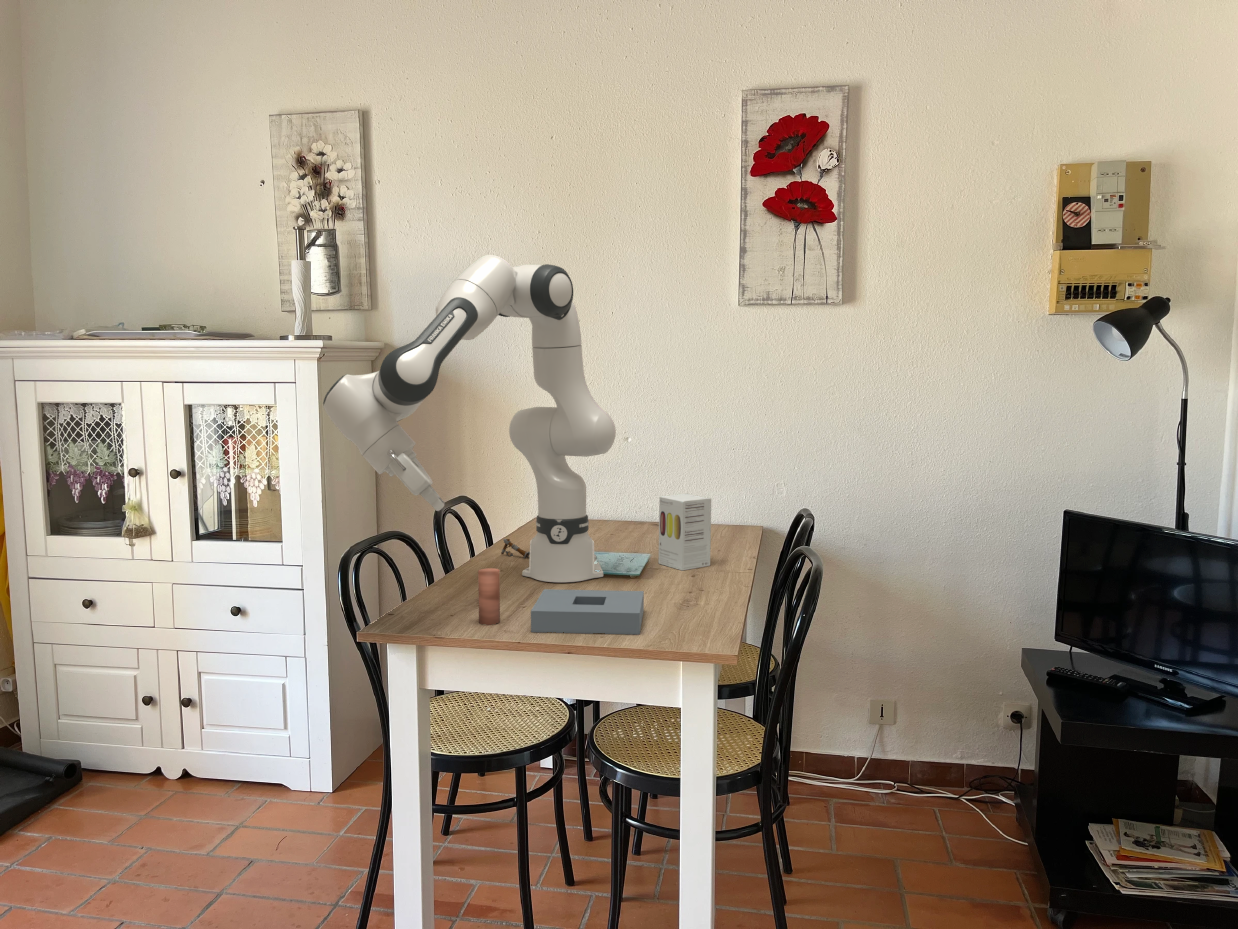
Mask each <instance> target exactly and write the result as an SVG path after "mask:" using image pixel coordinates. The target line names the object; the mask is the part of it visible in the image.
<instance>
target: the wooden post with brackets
mask: <svg viewBox="0 0 1238 929" xmlns="http://www.w3.org/2000/svg"><path fill="white" fill-rule="evenodd" d="M503 543H504V546H503V548H502V549H501V552H500V554H501V555H504V554H506V556H508V557H511V556H513V557H514V553H512V552H511V551H510V550H507V549H508V548H510V549H512V550H514V551H515V552H516V553H519V554H520V555H521V556H522V557H523V559H524V558H525V559H526V557H527V558H530V551H527V550H524V549H521V548H520V547H519V546H518V545H516V544H515V543H512V541H511V539H510V538H503Z"/></svg>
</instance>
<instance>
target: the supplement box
mask: <svg viewBox="0 0 1238 929" xmlns="http://www.w3.org/2000/svg"><path fill="white" fill-rule="evenodd" d="M658 504H659V506H658V508H659V509H658V510H659V511H658V515H659V516H658V519H659V520H658V564H659V565H662V566H666V567H669V568H671V569H676V570H679V571H687V570H693V569H700V568H703V567H710V566H711V542H712V539H711V536H712V534H711V533H712V498H711V497H706V496H705V497H704V496H701V495H695V494H690V493H680V494H679V493H678V494H671V495H662V496H661V495H660V496H659V502H658Z"/></svg>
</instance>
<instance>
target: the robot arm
mask: <svg viewBox="0 0 1238 929" xmlns="http://www.w3.org/2000/svg"><path fill="white" fill-rule="evenodd" d="M573 300H574V285H573V281H572V279H571V276H570V275H569V273H568V272H567V271H566V270H565V269H564V268H562V267H560V266H558V265H555V264H548V263H547V264H546V263H545V264H535V263H531V264H520V265H515V266H512V265H511V264H510V263H509V262H508V261H507V260H506V259H504V258H503V257H501V256H499V255H495V254H486V255H483V256H481V257H479V258H477V259H476V260H475V261H474V262H471V264H470V265H468V266H467V267H466V268H465V269H464V270H463V271H462V272H461V273H460V274H458V276H457V277H456V278H455V279H454V280H453V281H452V283H450V285H449V286H448V287H447V288H446V290H444V293H443V294H442V296H441V297H440V299H439V301H438V303H437V305H436V307H435V317H434V318H433V319H432V320H431V322H430V323H428V325H427V326H426V327H425V328H424V329H423V331H422V332H420V334H419V335H418V336H416V338H415V340H413V341H411V342H409V343H408V344H405V345H403V346H399V347H397V348H395V349H394V350H392V351H390V352H389V353H388V354H387V355H386V356H385V357H384V359H383V360H382V363H381V364H380V367H379V370H378V371H374V372H370V373H365V374H347V373H346V374H344V375H342V376H341V377H339V378H338V379H337V380H335V382H334V383H333V384H332V385H331V387H330V388H329V390H328V391H327V392H326V394H325V396H324V398H323V402H322V408H323V410H324V412H325V414H326V415H327V416H328V417H329V419H330V421H331V422H332V424H334V426H335V427H336V428H337V429H338V431H339V432H341V434H342V435H343V436H344V438H345V439H347V440H348V441H349V442H352V444H354V445H355V446H356V447H357V449H358V452H359V454H360V455H361V456H362V457H363V459H365V461H366V462H367V463H368V464H369V465H370V466H371V467H372V468H373V469H374V470H375V472H376V473H377V474H378V475H381V474H383V473H387V474H388V475H389V477H393V476H396V477H397V478H398V479H399V481H400V482H401V483H402V484H403V485H404V487H406V488H407V489H408V491H409V492H410V493H411V494H412V495H413V496H419V495H420V496H421V498H423V499H424V500H425V501H426V502H427V503H428V504H429V505H430V506H431V507H433V509H434V510H435V511H437V512H440V511H441V510H442V509H443V508H444V507H445V505H446V503H445V501H444V500H443V499H442V498H441V497H440V495H439V493H438V492H437V491H436V490H435V488H433V486H432V485H433V484H434V481H433V480H432V478H431V476H430V475H429V473H428V472H427V471H426V469H425V468H424V466H423V465H422V464H421V462H420V461H419V459H418V458H417V455H418V454H417V453H416V452H415V451H414V446H416V443H417V442H416V441H414V439H413V438H412V437H411V436H410V435H409V434H408V433H407V432H406V431H405V429H404V428H403V427H402V426H401V424H400V423H398V422H400V421H401V420H403V419H407V418H408V417H409V416H411V415H412V414H414V413H415V412H416V410H418V408H419V407H420V406H421V404H422V403H423V402H424V401H425V399H427V397H428V396H430V394H431V393H432V392H433V391H434V390H435V387H436V385H437V383H438V380H439V379H438V378H439V373H440V369H441V366H442V363H443V362H444V361H445V359H446V358H448V356H449V355H450V354H451V352H452V351H453V350H454V349H455V348H456V347H457V345H458V344H460V342H461V341H463V340H464V341H465V340H466V341H471V340H474V339H475V338H477V337H478V336H480V335H481V334H482V333H483V332H484V331H485V330H486V329H487V328H489V327H490V325H491V324H492V323H493V322H494V321H495V320H496V318H497V317H498V316H500V317H504V318H509V317H512V318H521V319H528V320H529V321H530V323H531V346H532V347H531V348H532V362H533V363H532V365H533V378H534V380H535V383H536V384H537V386H538V387H539V388H541V389H542V390H543V391H546V392H547V393H548V394H549V395H550V396H551V397H552V399H553V400H554V402H555V405H556V406H555V407H554V406H534V407H529V408H524V409H520V410H517V411H516V413H514V415H513V416H512V418H511V420H510V422H509V428H508V430H509V431H508V432H509V434H508V435H509V438H510V442H511V443H512V444H513V446H514V448H515V449H516V450H518V451H519V453H520V454H522V455H523V456H524V458H525V460H526V461H527V463H529V466H530V467H531V469H532V470H531V471H532V473H533V475H534V478H535V482H536V492H537V512H538V515H537V516H536V521H535V525H536V528H535V530H536V532H537V533H536V534H535V536H534V537H532V539H530V542H529V552H530V555H529V563H528V564H529V567H527V568H525V569H523V570H522V572H521V575H522V576H523V577H529V578H532V579H534V580H538V581H541V582H549V583H575V582H581V581H588V580H591V579H597V578H603V577H604V571H603V569H602V566H601V565H600V563H599V561H598V563H597V564H594V562H595V561H596V560H598V559H597V558H598V557H597V554H595V541H594V540H593V538H592V537H591V536H590V534H589V528H590V527H589V526H590V520H589V515H588V514H587V485H586V482H585V480H584V478H583V477H582V476H581V475H580V474H578V473H577V472H576V471H573V469H572V468H571V467H570V466H569V464H568V463H567V462H568V461H567V459H566V456H568V457H585V458H587V457H594V456H599V455H604V454H606V453H608V452H609V451H610V450H611V448H612V447H613V445H614V443H615V441H616V440H615V439H616V433H617V432H616V425H615V423H614V422H615V421H614V420H613V417H611V415H610V414H609V413H608V412H606V411H605V410H604V409H603V408H602V407H601V406H600V405H599V404H598V403H597V402H596V400H595V398H594V397H593V395H592V394H591V392H590V390H589V387H588V385H587V382H586V377H585V370H584V361H583V360H584V359H583V349H582V348H583V347H582V346H583V345H582V334H581V333H582V332H581V326H580V321H579V316H578V311H577V307H576V305H575V303H574V302H573ZM595 570H600V571H599V572H597V571H595Z"/></svg>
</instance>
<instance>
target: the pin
mask: <svg viewBox="0 0 1238 929" xmlns="http://www.w3.org/2000/svg"><path fill="white" fill-rule="evenodd" d="M477 578H478V579H477V580H478V582H477V584H478V586H477V587H478V623H479V624H480V625H483V624H486V625H485V626H493V625H492V624H494V625H497V624H496V623H498V624H500V623H499V622H501V600H500V599H501V598H500V597H501V593H500V592H501V591H500V590H501V589H500V588H501V587H500V586H501V585H500V584H501V583H500V582H501V581H500V569H498V568H494V567H493V568H491V567H488V568H482V569H481V568H480V569H478V571H477Z"/></svg>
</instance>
